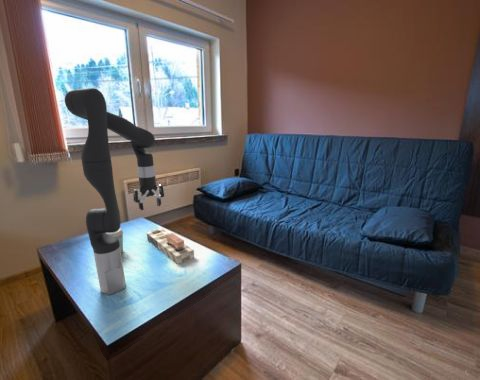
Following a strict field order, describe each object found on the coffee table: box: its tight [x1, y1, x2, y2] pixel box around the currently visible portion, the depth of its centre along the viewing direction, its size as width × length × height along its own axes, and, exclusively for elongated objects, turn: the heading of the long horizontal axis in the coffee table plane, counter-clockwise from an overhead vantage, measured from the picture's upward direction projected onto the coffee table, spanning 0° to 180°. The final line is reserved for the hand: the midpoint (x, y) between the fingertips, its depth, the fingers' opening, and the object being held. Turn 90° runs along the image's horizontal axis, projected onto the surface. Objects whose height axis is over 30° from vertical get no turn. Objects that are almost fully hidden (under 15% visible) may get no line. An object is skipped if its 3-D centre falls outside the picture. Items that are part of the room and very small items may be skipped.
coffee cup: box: [106, 227, 124, 253], centre depth 132 cm, size 8×8×12 cm
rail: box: [146, 228, 195, 265], centre depth 136 cm, size 36×9×4 cm, turn 41°
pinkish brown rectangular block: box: [166, 232, 185, 252], centre depth 130 cm, size 12×4×8 cm, turn 41°
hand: (150, 207), depth 126 cm, fingers open, 8 cm apart
